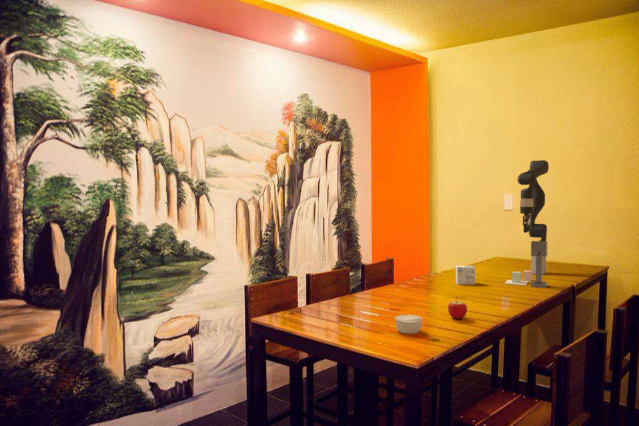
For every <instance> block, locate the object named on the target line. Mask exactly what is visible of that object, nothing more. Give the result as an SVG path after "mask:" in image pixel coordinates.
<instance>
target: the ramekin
mask: <svg viewBox="0 0 639 426" xmlns="http://www.w3.org/2000/svg"><path fill="white" fill-rule="evenodd" d="M394 321H395V324H396V329H397V331H398V332H399V333H402V334H412V335H414V334H417V333H419V332H421V328H422V323H423V318H422V317H421V316H419V315H413V314H402V315H397V316H395V318H394Z"/></svg>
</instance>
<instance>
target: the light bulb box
mask: <svg viewBox="0 0 639 426" xmlns="http://www.w3.org/2000/svg"><path fill="white" fill-rule="evenodd" d="M455 283H456V285H460V286H461V285H463V286H466V285H467V286H469V285H473V286H474V285H476V267H475V266H474V265H455Z"/></svg>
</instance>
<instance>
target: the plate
mask: <svg viewBox="0 0 639 426" xmlns="http://www.w3.org/2000/svg"><path fill="white" fill-rule="evenodd" d="M529 282H530V281H523V280H521V283H512V279H507V280H506V281H505V282H504V284H505V285H515V286H516V285H519V286H527V285H528V283H529Z"/></svg>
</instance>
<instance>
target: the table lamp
mask: <svg viewBox="0 0 639 426" xmlns="http://www.w3.org/2000/svg"><path fill="white" fill-rule="evenodd" d="M531 256H536V274H535V280H532V281H531V282H530V287H532V288H543V289H545V288H547V286H548V282H547V281H543V274H542V257H546V258H547V256H548V241H546V242H545V241H540V240H532V241H531V242H530V257H531Z"/></svg>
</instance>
